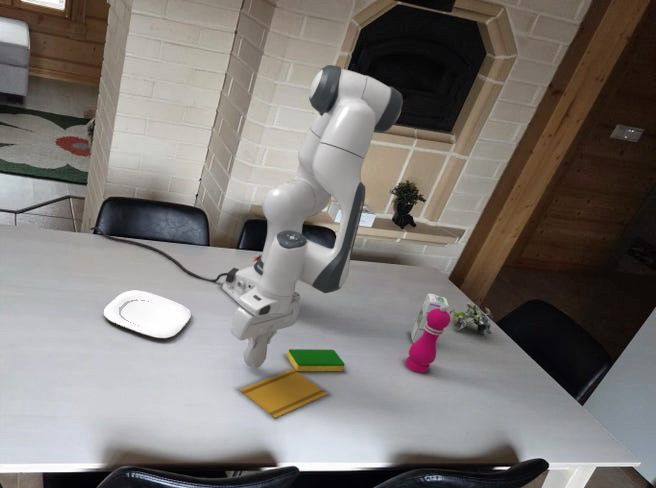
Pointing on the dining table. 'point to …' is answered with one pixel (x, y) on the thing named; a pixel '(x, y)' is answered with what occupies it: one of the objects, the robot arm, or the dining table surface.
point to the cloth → (283, 392)
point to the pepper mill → (428, 341)
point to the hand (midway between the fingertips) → (258, 345)
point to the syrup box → (428, 305)
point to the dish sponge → (315, 360)
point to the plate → (148, 314)
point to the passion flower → (478, 318)
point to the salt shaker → (257, 350)
